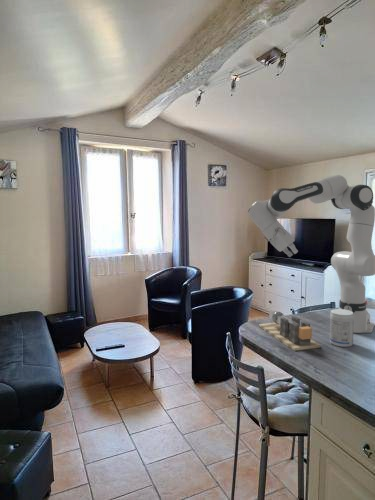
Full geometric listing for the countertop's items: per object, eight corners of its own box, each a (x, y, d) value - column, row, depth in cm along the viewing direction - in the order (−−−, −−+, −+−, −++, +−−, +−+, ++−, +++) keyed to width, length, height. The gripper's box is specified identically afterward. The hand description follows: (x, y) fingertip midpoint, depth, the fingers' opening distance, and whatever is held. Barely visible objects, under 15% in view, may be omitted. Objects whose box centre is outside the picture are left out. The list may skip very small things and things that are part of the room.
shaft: (266, 320, 170) (267, 309, 169) (277, 319, 171) (277, 308, 171) (289, 334, 149) (290, 322, 148) (301, 333, 150) (301, 320, 150)
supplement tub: (337, 338, 154) (338, 307, 152) (357, 344, 146) (358, 312, 144) (325, 342, 148) (326, 311, 147) (345, 349, 140) (346, 316, 139)
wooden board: (259, 326, 171) (259, 308, 171) (281, 324, 175) (281, 306, 174) (294, 350, 140) (294, 329, 139) (320, 347, 143) (321, 326, 142)
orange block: (298, 337, 143) (298, 327, 143) (307, 336, 144) (308, 326, 144) (302, 339, 141) (302, 329, 140) (311, 338, 142) (311, 328, 141)
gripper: (284, 221, 141) (305, 246, 139) (275, 232, 161) (293, 253, 159) (272, 230, 141) (294, 255, 138) (265, 239, 161) (283, 261, 159)
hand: (293, 254), depth 149 cm, fingers open, 8 cm apart
